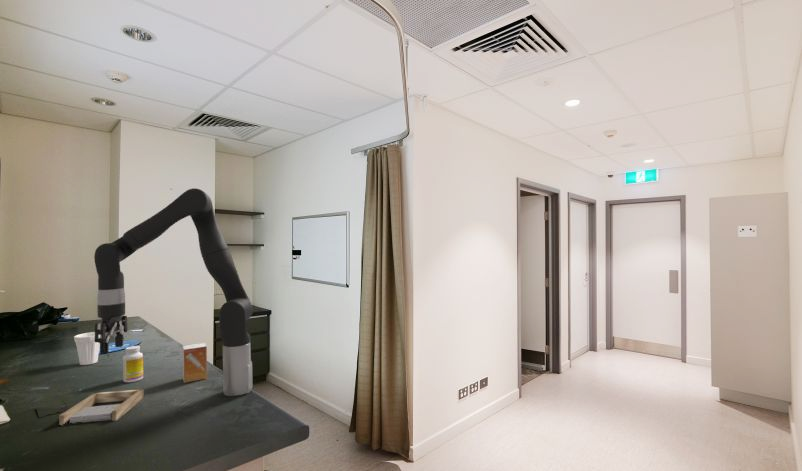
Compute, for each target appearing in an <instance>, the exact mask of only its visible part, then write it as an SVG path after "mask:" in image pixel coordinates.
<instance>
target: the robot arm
mask: <svg viewBox="0 0 802 471" xmlns="http://www.w3.org/2000/svg"><path fill="white" fill-rule="evenodd" d="M189 216H190V218H191V220H192V222H193V224H194V227H195V228H196V232H197V235H198V245H199V250H200V254H201V257H202V261H203V263H204V266H205V269H206V270H207V272H208V273H209V275H210V277H212V278H213V280H214V281H215V282H216V283H217V285H218V286H219V287H220V288H221V290H222V293H223V296H224V299H225V301H226V302H224V303H223V304H222V305H221V307H220V309H219V315H218V319H219V320H218V321H219V322H218V323H219V335H220V338H221V341H222V378H223V380H222V382H223V383H222V384H223V385H222V389H223V395H224V396H228V397H237V396H242V395H244V394H249V393H250V392H251V390H252V389H253V387H254V386H253V361H252V359H251V357H252V356H251V355H252V354H251V335H250V334H249V332H247V323H246V322H247V321H248V320H249V319H250V318H251V317H252V316H253V312H254V311H253V309H254V308H253V303H252V302H251V300H250V298H249V296H248V293H246V291H245V290H246V289H245V288H244V286H243V284H242V282H241V279H240V276H239V274H238V271H237V268H236V265H235V262H234V258H233V256H232V253H231V251H230V248H229V246H228V244H227V241H226V239H225V237H224V235H223V233H222V230H221V229H220V227H219V225H218V222H217V219H216V214H215V210H214V206H213V201H212V199H211V197H210V196H209V195H208V194H207V192H205V191H204V190H202V189H200V188H194V187H193V188H190V189H189V188H188V189H187V190H186V191H184V192H183V193H181V194H180V195H179V196H177V198H176V199H174V200H173V201H172V202H171V203H169V204H168V205H166V206H165V207H164V208H162V209H161V210H160V211H159V212H156V213H155V214H154V215H152V216H150V217H149V218H147V219H146V220H144V221H142V222H141V223H139V224H137V225H135V226H133V227H132V228H129V230H127V231H126V232H124V233H123V235H122V236H121V237H119V238H117V239H115V240H114V241H112V242H107V243H106V242H105V243H102V244H100V245H98V247H96V249H95V251H94V256H93V259H94V265H95V269H96V274H97V277H98V278H97V288H98V289H97V297H96V301H97V305H96V306H97V307H96V308H97V312H96V313H97V317H98V318H100V319H101V323H99V322H97V323H95V324H94V332H95V342H98V343H100V348H99V355H108V354H109V351H110V350H109V348H110V347H109V346H110V345H109V340H110V338H111V337H112V336H113V334H114V336H115V337H114V338H115V339H114V346H115V348H122V347H123V346H124V336H125V333H127V332H128V316H127V315H125V314H126V292H125V275H124V273H123V271H121V263H120V262H123V261H124V260H126V259H127V258H129V257H130V256H131V255H132V254H134V253H135V252H137V251H139V249H141V248H143V247H145V246H147V245H148V244H150V243H151V242H153V241H155V240H157V239H158V238H159V237H160V236H162V235H163V234H164V233H165V232H167V230H168V229H170V228H171V227H172V226H173V225H175V224H176V223H178V222H180V221H181V220H183V219H185V218H188V217H189ZM99 335H100V337H99ZM246 387H247V388H246ZM249 389H250V390H249Z"/></svg>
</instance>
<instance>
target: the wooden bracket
mask: <svg viewBox="0 0 802 471" xmlns="http://www.w3.org/2000/svg"><path fill="white" fill-rule="evenodd" d="M144 395H145V394H144V388H143V389H141V388H140V389H129V390H116V391H104V392H103V391H102V392H94V393H92V394H91V395H89V396H87V397H86V398H85V399H83V400H81V401H79V402H78V403H76V404H75V405H74V406H71V407H70V408H69V409H68V410H67V411H65V412H62V413H61V414H59V415H58V418H59V420H58V421H59V422H58V424H59V425H61V426H64V425H63V424H65V423H66V424H68V423H69V422H70V417H71V416H72V415H74V414H75V413H77V412H78V411H79V410H81V409H82V408H84V407H92V406H94V405H95V404H101V403H113V402H121V403H119V404H120V405H119V406H118V407H117V408H115V409H114V410H113V411H112V419H111V422H115V421H118V420H120V419H121V418H122V416H124V415H125V414H126V413H127V412H129V411H130V410H131V409H132V408H134V407H135V406H136V405H137V404H138V403H140V402H141V401H142V400H143V399H144V398H145V396H144ZM68 421H69V422H68ZM67 422H68V423H67ZM66 424H65V425H66ZM59 425H58V426H59Z"/></svg>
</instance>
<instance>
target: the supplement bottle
mask: <svg viewBox="0 0 802 471" xmlns="http://www.w3.org/2000/svg"><path fill="white" fill-rule="evenodd" d="M140 350H141V347H140V345H132V346H127V347H126V348H125V353H126V354H124V355H123V357H122V381H123V382H124V383H134V382H139V381H140V380H142V379H144V355H143V352H140Z"/></svg>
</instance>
